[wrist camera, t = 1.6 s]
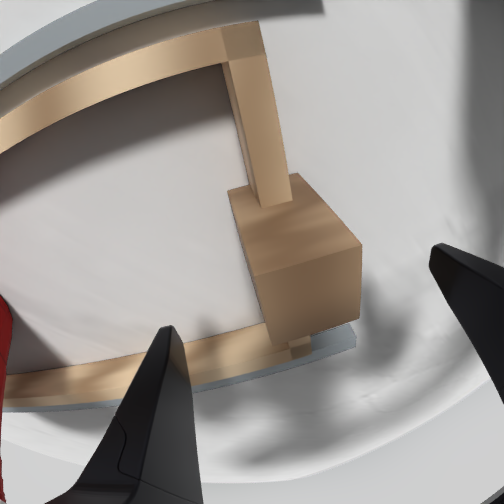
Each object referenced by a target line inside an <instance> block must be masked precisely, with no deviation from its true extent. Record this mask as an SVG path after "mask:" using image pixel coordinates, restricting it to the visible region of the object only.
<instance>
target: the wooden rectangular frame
mask: <svg viewBox="0 0 504 504" xmlns="http://www.w3.org/2000/svg"><path fill="white" fill-rule="evenodd" d="M218 63H221V65H222V69H223V73H224V77H225V81H226V86H227V90H228V94H229V98H230V102H231V107H232V111H233V115H234V119H235V124H236V128H237V132H238V137H239V141H240V145H241V149H242V154H243V158H244V163H245V167H246V171H247V176H248V180H249V184H250V185H247V186H243V187H239V188H235V189H232V190H228V191H227V192H228V196H229V200H230V203H231V207H232V211H233V215H234V218H235V222H236V226H237V230H238V233H239V237H240V241H241V244H242V248H243V252H244V255H245V258H246V262H247V265H248V268H249V272H250V275H251V278H252V281H253V285H254V288H255V291H256V295H257V298H258V301H259V304H260V308H261V311H262V314H263V317H264V321H265V322H264V323H261V324H257V325H254V326H250V327H246V328H243V329H239V330H235V331H231V332H228V333H224V334H220V335H216V336H212V337H208V338H204V339H200V340H196V341H192V342H188V343H184V344H183V345H184V349H185V355H186V361H187V366H188V372H189V377H190V382H191V386H195V385H200V384H204V383H209V382H213V381H218V380H222V379H226V378H230V377H234V376H238V375H242V374H246V373H250V372H254V371H257V370H261V369H265V368H268V367H272V366H275V365H279V364H282V363H286V362H289V361H292V360H296V359H299V358H302V357H305V356H308V355H311V354H312V348H311V338H310V335H312V334H315V333H318V332H321V331H324V330H327V329H330V328H333V327H336V326H339V325H342V324H345V323H348V322H350V321H353V320H356V319H359V316H360V300H361V277H362V244H361V243H360V241H359V240H358V239H357V238H356V237H355V236H354V234H353V233H352V232H351V231H350V230H349V229H348V227H347V226H346V225H345V224H344V223H343V222H342V221H341V219H340V218H339V217H338V216H337V215H336V214H335V213H334V211H333V210H332V209H331V208H330V207H329V206H328V205H327V204H326V203H325V201H324V200H323V199H322V198H321V197H320V196H319V195H318V194H317V193H316V192H315V191H314V189H313V188H312V187H311V186H310V185H309V184H308V183H307V182H306V181H305V180H304V179H303V178H302V177H301V176H300V175H299V174H298V173H294V174H290V175H289V174H288V168H287V163H286V157H285V151H284V145H283V140H282V134H281V128H280V123H279V118H278V112H277V107H276V102H275V97H274V92H273V87H272V82H271V77H270V72H269V67H268V63H267V58H266V53H265V49H264V44H263V40H262V35H261V31H260V26H259V22H258V21H252V22H245V23H240V24H234V25H229V26H224V27H219V28H214V29H209V30H205V31H201V32H197V33H193V34H189V35H185V36H181V37H178V38H174V39H171V40H167V41H164V42H161V43H157V44H154V45H151V46H148V47H145V48H142V49H139V50H136V51H134V52H131V53H128V54H125V55H123V56H120V57H117V58H115V59H112V60H110V61H107V62H105V63H103V64H100V65H98V66H96V67H93V68H91V69H89V70H87V71H84V72H82V73H80V74H78V75H76V76H74V77H72V78H70V79H68V80H66V81H64V82H62V83H60V84H58V85H56V86H54V87H52V88H50V89H48V90H46V91H45V92H43V93H41V94H39V95H37V96H36V97H34V98H32V99H31V100H29V101H27V102H25V103H24V104H22V105H21V106H19V107H17V108H16V109H14V110H13V111H11V112H9V113H8V114H6V115H5V116H3V117H2V118H0V154H1V153H2V152H4V151H5V150H7V149H9V148H10V147H12V146H14V145H15V144H17V143H19V142H20V141H22V140H24V139H25V138H27V137H29V136H31V135H32V134H34V133H36V132H38V131H40V130H42V129H43V128H45V127H47V126H49V125H51V124H53V123H55V122H57V121H59V120H61V119H63V118H65V117H67V116H69V115H71V114H73V113H75V112H78V111H80V110H82V109H84V108H86V107H89V106H91V105H93V104H96V103H98V102H100V101H103V100H105V99H108V98H110V97H113V96H115V95H118V94H120V93H123V92H125V91H128V90H131V89H134V88H136V87H139V86H142V85H145V84H148V83H151V82H154V81H157V80H160V79H163V78H166V77H170V76H173V75H176V74H180V73H183V72H187V71H190V70H194V69H198V68H202V67H206V66H210V65H214V64H218ZM146 353H147V352H144V353H139V354H134V355H129V356H125V357H120V358H114V359H109V360H104V361H98V362H93V363H87V364H82V365H76V366H70V367H63V368H57V369H50V370H44V371H37V372H29V373H21V374H13V375H6V382H5V390H4V399H3V407H36V406H54V405H67V404H79V403H89V402H98V401H106V400H114V399H121V398H123V397H124V395H125V393H126V391H127V390H128V388H129V386H130V384H131V382H132V380H133V378H134V376H135V374H136V372H137V370H138V368H139V366H140V364H141V362H142V360H143V359H144V357H145V355H146Z"/></svg>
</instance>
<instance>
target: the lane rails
mask: <svg viewBox="0 0 504 504" xmlns="http://www.w3.org/2000/svg"><path fill="white" fill-rule="evenodd" d="M209 1H214V0H97V1H95V2H93V3H90V4H88V5H86V6H84V7H81V8H79V9H77V10H75V11H73V12H71V13H69V14H67V15H65V16H63V17H61V18H59V19H57V20H55V21H53V22H52V23H50V24H48V25H46V26H44V27H43V28H41V29H39V30H37V31H36V32H34V33H32V34H31V35H29V36H27V37H26V38H24V39H23V40H21V41H20V42H18V43H16V44H15V45H13V46H12V47H10V48H9V49H7V50H6V51H5V52H3V53H2V54H0V90H1V89H3V88H4V87H6V86H7V85H9V84H10V83H12V82H13V81H15V80H16V79H18V78H20V77H21V76H23V75H24V74H26V73H28V72H29V71H31V70H33V69H34V68H36V67H38V66H39V65H41V64H43V63H45V62H47V61H48V60H50V59H52V58H54V57H56V56H58V55H60V54H62V53H64V52H65V51H67V50H69V49H72V48H74V47H76V46H78V45H80V44H82V43H84V42H86V41H89V40H91V39H93V38H95V37H98V36H100V35H102V34H105V33H107V32H110V31H112V30H115V29H117V28H120V27H123V26H125V25H128V24H131V23H134V22H137V21H139V20H142V19H145V18H149V17H152V16H155V15H158V14H161V13H165V12H168V11H172V10H176V9H179V8H183V7H187V6H191V5H196V4H200V3H205V2H209ZM310 338H311V348H312V354H311V355H308V356H305V357H302V358H299V359H296V360H292V361H289V362H286V363H282V364H279V365H275V366H272V367H268V368H265V369H261V370H257V371H254V372H250V373H246V374H242V375H238V376H234V377H230V378H226V379H222V380H218V381H213V382H209V383H204V384H200V385H195V386H191V388H192V393H197V392H201V391H206V390H211V389H215V388H219V387H224V386H228V385H232V384H236V383H240V382H244V381H248V380H252V379H256V378H259V377H263V376H267V375H270V374H274V373H277V372H281V371H284V370H288V369H291V368H294V367H297V366H301V365H304V364H307V363H310V362H313V361H316V360H319V359H322V358H325V357H328V356H331V355H334V354H337V353H340V352H343V351H345V350H348V349H351V348H354V347H356V334H355V333H354V331H353V329H352V327H351V325H350V324H347V325H344V326H341V327H338V328H335V329H332V330H329V331H326V332H323V333H320V334H317V335H314V336H311V337H310ZM122 399H123V398H121V399H114V400H106V401H98V402H89V403H79V404H67V405H54V406H36V407H3V409H2V412H51V411H68V410H81V409H92V408H102V407H111V406H119V405H120V403H121V401H122Z"/></svg>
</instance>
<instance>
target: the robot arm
mask: <svg viewBox="0 0 504 504" xmlns="http://www.w3.org/2000/svg"><path fill="white" fill-rule="evenodd" d="M429 269H430V271H431V273H432V275H433V277H434V279H435V280H436V282H437V284H438V286H439V288H440V290H441V292H442V294H443V295H444V297H445V299H446V301H447V303H448V305H449V306H450V308H451V309H452V311H453V313H454V314H455V316H456V317H457V319H458V321H459V322H460V324H461V326H462V327H463V329H464V331H465V332H466V334H467V336H468V337H469V339H470V341H471V342H472V344H473V346H474V348H475V349H476V351H477V353H478V355H479V357H480V358H481V360H482V362H483V364H484V366H485V368H486V369H487V371H488V373H489V375H490V377H491V379H492V381H493V383H494V385H495V387H496V389H497V391H498V393H499V395H500V397H501V399H502V402H503V404H504V268H503V267H501V266H499V265H496V264H494V263H492V262H489V261H487V260H484V259H482V258H480V257H477V256H475V255H472V254H470V253H467V252H465V251H462V250H460V249H457V248H454V247H452V246H449V245H447V244H444V243H439V244H437V245H434V246H433V247H432V249H431V254H430V260H429ZM45 504H203V497H202V489H201V481H200V473H199V464H198V455H197V445H196V434H195V423H194V411H193V398H192V388H191V382H190V377H189V372H188V366H187V361H186V355H185V349H184V345H183V342H182V340H181V338H180V336H179V335H178V333H177V331H176V329H175V328H174V327H173V326H172V325H169V326H165V327H161V328H160V329H159V330H158V332H157V334H156V336H155V338H154V340H153V342H152V343H151V345H150V347H149V349H148V351H147V353H146V355H145V357H144V359H143V360H142V362H141V364H140V366H139V368H138V370H137V372H136V374H135V376H134V378H133V380H132V382H131V384H130V386H129V388H128V390H127V391H126V393H125V395H124V397H123V399H122V401H121V403H120V405H119V407H118V409H117V411H116V413H115V416H114V417H113V419H112V421H111V423H110V425H109V427H108V429H107V431H106V433H105V435H104V437H103V439H102V441H101V442H100V444H99V446H98V447H97V449H96V451H95V452H94V454H93V456H92V457H91V459H90V461H89V462H88V464H87V465H86V467H85V469H84V471H83V472H82V474H81V475H80V477H79V479H78V480H77V482H76V483H75V484H74V485H73V486H72V487H71V488H70V489H69V490H68V491H67V492H65V493H63V494H62V495H60V496H58V497H56V498H54V499H53V500H51V501H49V502H47V503H45ZM481 504H504V487H502V488H501V489H500V490H499V491H497V492H496V493H495V494H493V495H492V496H491V497H489V498H488V499H487V500H485V501H484V502H482V503H481Z"/></svg>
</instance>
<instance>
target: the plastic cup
mask: <svg viewBox="0 0 504 504" xmlns="http://www.w3.org/2000/svg"><path fill="white" fill-rule="evenodd" d="M12 322H13V319H12V316H11V314H10V311H9V308H8V306H7V304H6V303H5V302H4V300H3V299H2V297H1V296H0V444H1V422H2V409H3V399H4V390H5V382H6V375H7V373H6V366H7V360H8V354H9V349H10V344H11V339H12ZM1 471H2V460H1V457H0V504H6V500H5V494H4V492H3V479H2V476H1V475H2V472H1Z"/></svg>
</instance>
